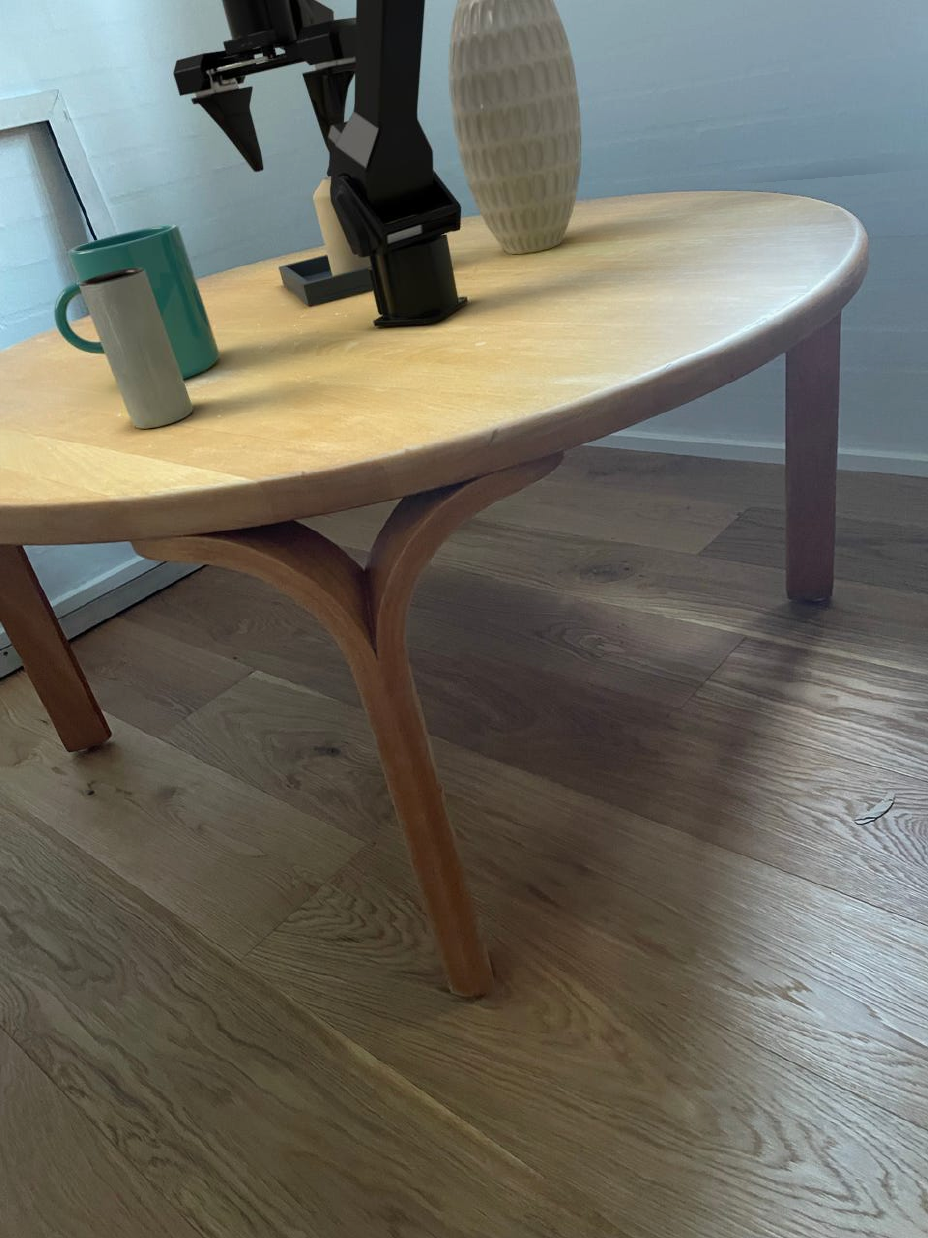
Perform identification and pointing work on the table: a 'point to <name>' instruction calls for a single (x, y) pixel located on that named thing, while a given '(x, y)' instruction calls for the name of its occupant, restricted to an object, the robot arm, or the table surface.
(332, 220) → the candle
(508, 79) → the vase
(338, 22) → the robot arm
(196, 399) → the table surface
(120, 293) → the planter
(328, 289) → the tray
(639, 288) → the table surface
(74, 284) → the cup
